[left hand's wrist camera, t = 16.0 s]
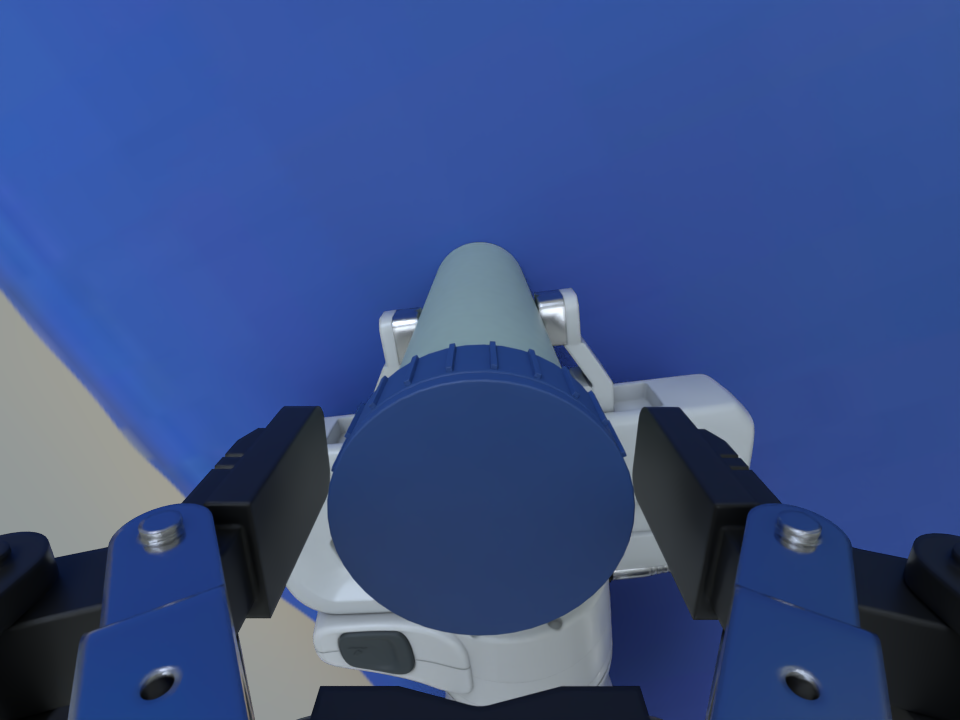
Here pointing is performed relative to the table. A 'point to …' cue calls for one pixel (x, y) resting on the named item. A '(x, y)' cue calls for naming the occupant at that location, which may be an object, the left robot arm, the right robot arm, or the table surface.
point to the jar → (480, 306)
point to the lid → (481, 492)
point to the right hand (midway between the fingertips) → (475, 302)
